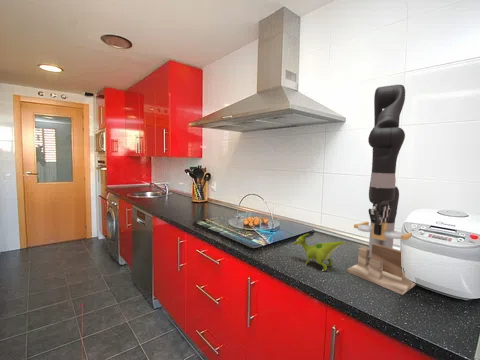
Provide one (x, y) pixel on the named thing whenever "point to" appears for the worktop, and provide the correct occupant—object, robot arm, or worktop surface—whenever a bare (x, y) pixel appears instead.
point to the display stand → (382, 268)
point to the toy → (318, 251)
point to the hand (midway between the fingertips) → (378, 234)
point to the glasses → (382, 231)
